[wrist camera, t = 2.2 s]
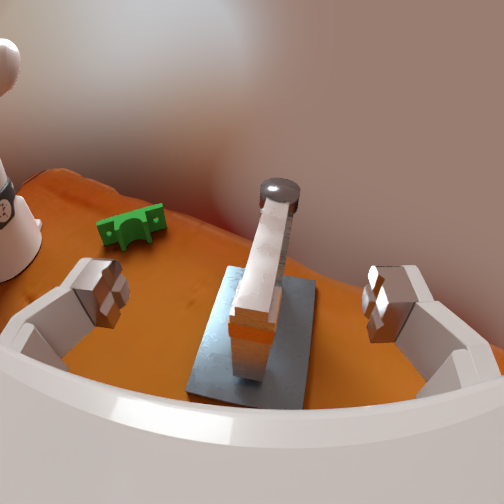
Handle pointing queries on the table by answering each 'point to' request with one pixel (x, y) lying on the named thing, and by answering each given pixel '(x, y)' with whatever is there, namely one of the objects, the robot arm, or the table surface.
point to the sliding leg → (252, 340)
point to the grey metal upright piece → (267, 250)
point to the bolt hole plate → (280, 356)
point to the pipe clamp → (132, 226)
